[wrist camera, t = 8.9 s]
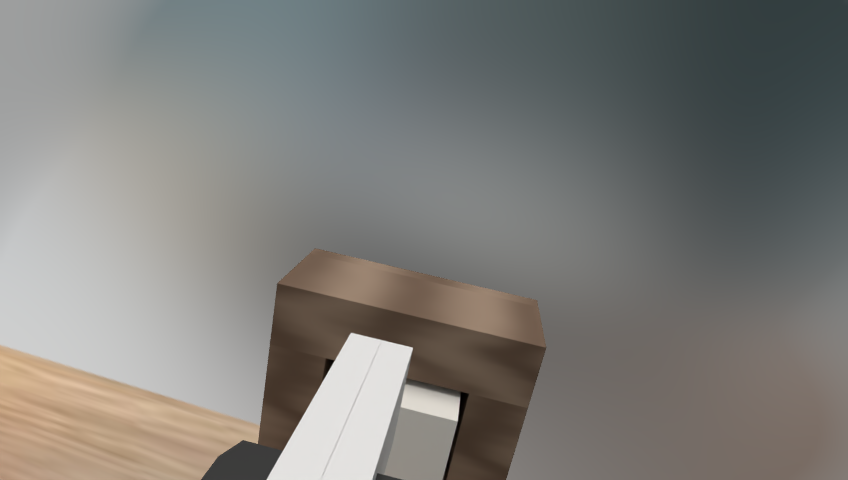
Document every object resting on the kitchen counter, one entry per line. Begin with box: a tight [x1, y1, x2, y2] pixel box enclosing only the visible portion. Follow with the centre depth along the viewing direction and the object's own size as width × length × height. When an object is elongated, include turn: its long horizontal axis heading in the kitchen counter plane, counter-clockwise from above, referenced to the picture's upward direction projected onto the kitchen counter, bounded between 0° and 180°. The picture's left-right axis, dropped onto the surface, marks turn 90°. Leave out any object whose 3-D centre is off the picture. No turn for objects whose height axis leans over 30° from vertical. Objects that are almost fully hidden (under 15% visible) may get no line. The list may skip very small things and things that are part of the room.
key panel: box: [258, 249, 546, 480], centre depth 33 cm, size 14×6×24 cm, turn 82°
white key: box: [384, 378, 461, 480], centre depth 29 cm, size 7×5×6 cm
